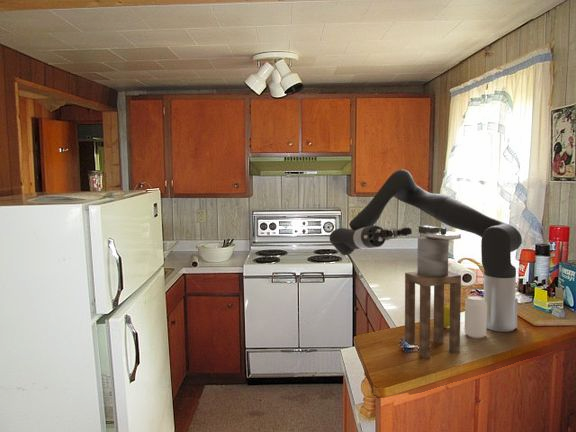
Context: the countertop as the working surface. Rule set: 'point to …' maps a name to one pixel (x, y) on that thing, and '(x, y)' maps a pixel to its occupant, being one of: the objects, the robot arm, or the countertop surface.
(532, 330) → the countertop surface
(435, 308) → the stand
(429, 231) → the cooker lid
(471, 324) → the beverage can
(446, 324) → the lemon
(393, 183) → the robot arm
